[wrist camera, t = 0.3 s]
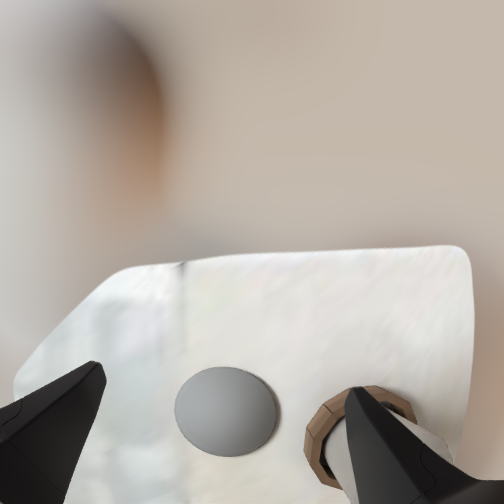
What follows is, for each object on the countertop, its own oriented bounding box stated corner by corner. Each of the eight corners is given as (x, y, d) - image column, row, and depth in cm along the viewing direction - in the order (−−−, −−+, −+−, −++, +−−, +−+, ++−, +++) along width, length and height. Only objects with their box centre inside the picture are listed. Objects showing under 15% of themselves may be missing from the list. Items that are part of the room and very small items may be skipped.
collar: (412, 437, 20) (426, 446, 18) (328, 490, 19) (336, 504, 16) (381, 366, 23) (395, 370, 20) (286, 422, 21) (290, 434, 19)
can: (397, 398, 22) (475, 431, 10) (379, 462, 20) (438, 516, 8) (327, 399, 22) (384, 450, 10) (311, 466, 20) (346, 540, 9)
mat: (292, 431, 21) (293, 433, 21) (206, 465, 20) (205, 468, 20) (246, 349, 23) (246, 350, 23) (158, 389, 22) (157, 390, 22)
